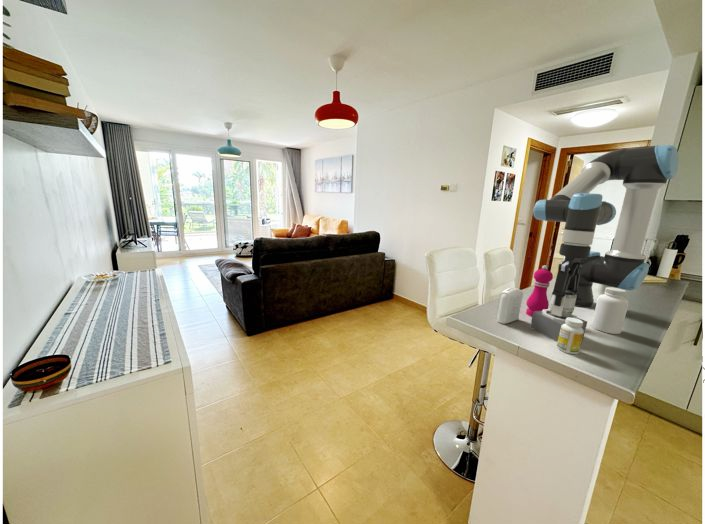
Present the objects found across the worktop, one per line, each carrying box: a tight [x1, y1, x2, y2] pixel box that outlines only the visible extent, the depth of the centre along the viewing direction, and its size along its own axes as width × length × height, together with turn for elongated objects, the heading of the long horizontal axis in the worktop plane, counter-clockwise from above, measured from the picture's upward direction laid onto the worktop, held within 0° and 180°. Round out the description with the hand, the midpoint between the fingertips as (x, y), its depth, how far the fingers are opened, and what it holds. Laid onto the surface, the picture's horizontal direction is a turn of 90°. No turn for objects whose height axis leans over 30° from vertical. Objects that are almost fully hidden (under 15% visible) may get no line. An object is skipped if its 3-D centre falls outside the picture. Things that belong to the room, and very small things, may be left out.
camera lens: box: [549, 290, 577, 317], centre depth 93 cm, size 6×6×8 cm
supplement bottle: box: [556, 317, 585, 355], centre depth 83 cm, size 5×5×10 cm
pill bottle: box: [591, 286, 629, 335], centre depth 98 cm, size 8×8×15 cm
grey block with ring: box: [529, 308, 588, 342], centre depth 94 cm, size 11×10×7 cm
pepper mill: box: [525, 264, 554, 318], centre depth 108 cm, size 7×7×20 cm
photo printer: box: [495, 287, 524, 325], centre depth 102 cm, size 10×4×12 cm, turn 123°
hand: (560, 312), depth 94 cm, fingers closed on camera lens, 6 cm apart
